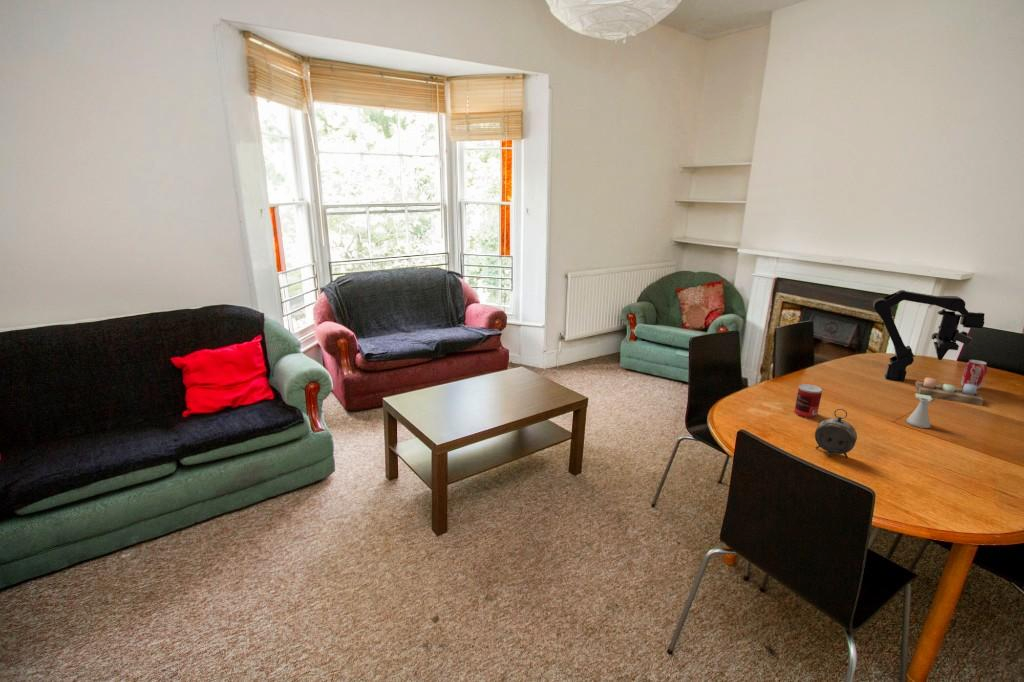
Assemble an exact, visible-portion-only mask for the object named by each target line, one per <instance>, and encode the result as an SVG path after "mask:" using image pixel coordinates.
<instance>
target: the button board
mask: <svg viewBox="0 0 1024 682" xmlns="http://www.w3.org/2000/svg"><path fill="white" fill-rule="evenodd" d="M923 383H924V381H919V380H916V381H915V385H914V387H915V389H916V391H917V394H923V395H929V396H931V398H933V399H934V398H935V399H942V400H946V401H947V400H948V401H953V402H959V403H965V404H971V405H975V406H977V405H978V406H983V405H984V404H983V402H984V398H983V397H982V396H981V395H980V393H979V392H978V391H977V390H976V393H975V396H974V395H967V394H963V393H962V391H963V387H957V386H956V388H955V392H949V391H943V390H942V388H943V384H940V383H936V386H935V389H930V388H924V387H923Z"/></svg>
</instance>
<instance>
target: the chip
mask: <svg viewBox="0 0 1024 682" xmlns="http://www.w3.org/2000/svg"><path fill="white" fill-rule="evenodd" d="M914 396H915V398H916V399H917V400H920V398H926V399H929V400H930V402H933V397H931V396H929V395H923V394H919V393H918V392H916V393H915V394H914Z"/></svg>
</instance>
